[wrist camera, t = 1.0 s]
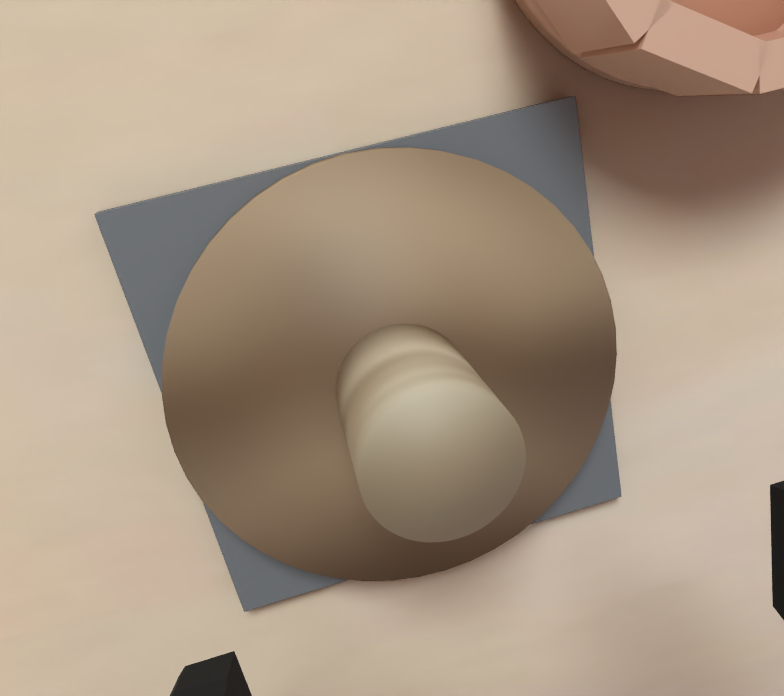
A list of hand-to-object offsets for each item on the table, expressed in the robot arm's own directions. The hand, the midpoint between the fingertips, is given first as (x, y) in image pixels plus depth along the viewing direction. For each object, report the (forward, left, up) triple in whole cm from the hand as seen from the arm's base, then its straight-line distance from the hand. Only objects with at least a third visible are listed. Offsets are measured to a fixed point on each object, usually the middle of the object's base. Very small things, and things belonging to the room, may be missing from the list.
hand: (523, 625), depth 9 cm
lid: (0, 0, -9) cm, 9 cm away
